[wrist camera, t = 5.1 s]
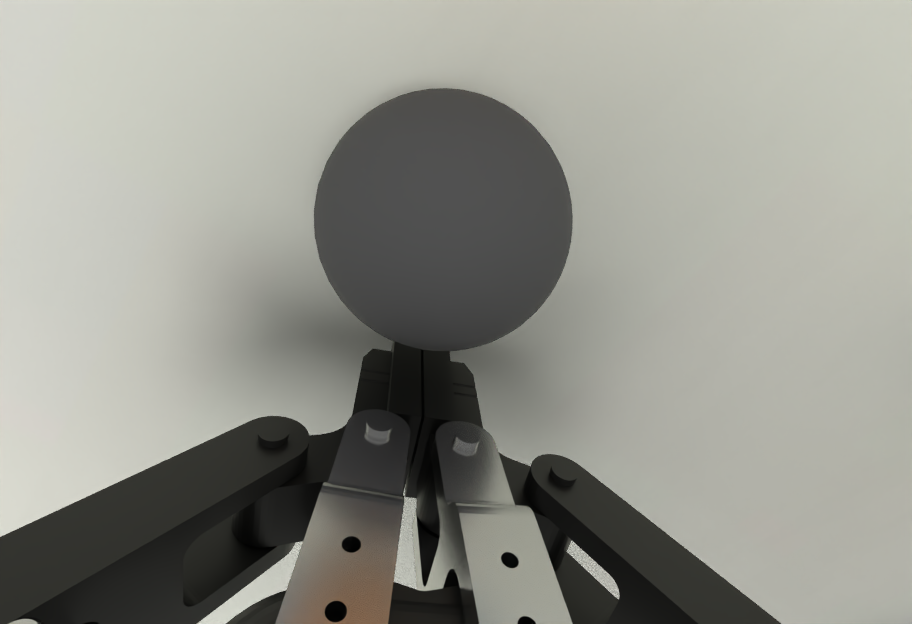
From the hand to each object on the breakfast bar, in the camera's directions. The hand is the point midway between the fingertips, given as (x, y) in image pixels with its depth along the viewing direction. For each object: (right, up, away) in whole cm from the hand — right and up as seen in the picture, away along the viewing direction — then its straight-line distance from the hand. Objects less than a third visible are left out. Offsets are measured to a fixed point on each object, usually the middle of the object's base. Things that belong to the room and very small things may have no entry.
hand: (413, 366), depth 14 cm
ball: (+1, +3, -3) cm, 5 cm away
